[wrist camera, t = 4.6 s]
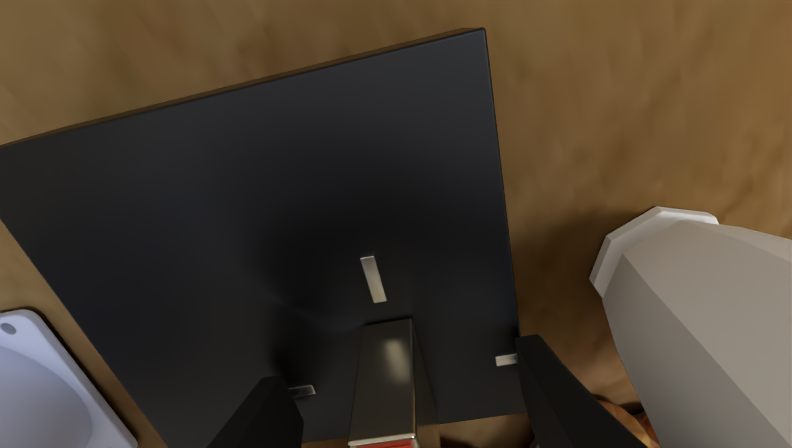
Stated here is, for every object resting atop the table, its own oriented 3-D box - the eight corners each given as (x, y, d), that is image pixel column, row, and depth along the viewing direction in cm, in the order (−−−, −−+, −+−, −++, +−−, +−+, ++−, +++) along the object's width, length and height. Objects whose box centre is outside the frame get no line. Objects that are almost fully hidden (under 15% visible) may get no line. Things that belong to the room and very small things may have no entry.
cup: (656, 120, 11) (1128, 282, 4) (874, 267, 13) (1444, 551, 6) (508, 296, 14) (627, 584, 7) (708, 395, 16) (964, 697, 9)
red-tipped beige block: (438, 415, 12) (451, 560, 9) (394, 421, 12) (391, 566, 9) (412, 315, 11) (416, 448, 7) (361, 324, 11) (343, 457, 7)
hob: (229, 415, 17) (195, 493, 14) (57, 128, 12) (-54, 160, 9) (526, 371, 16) (554, 447, 13) (487, 21, 10) (519, 19, 7)
